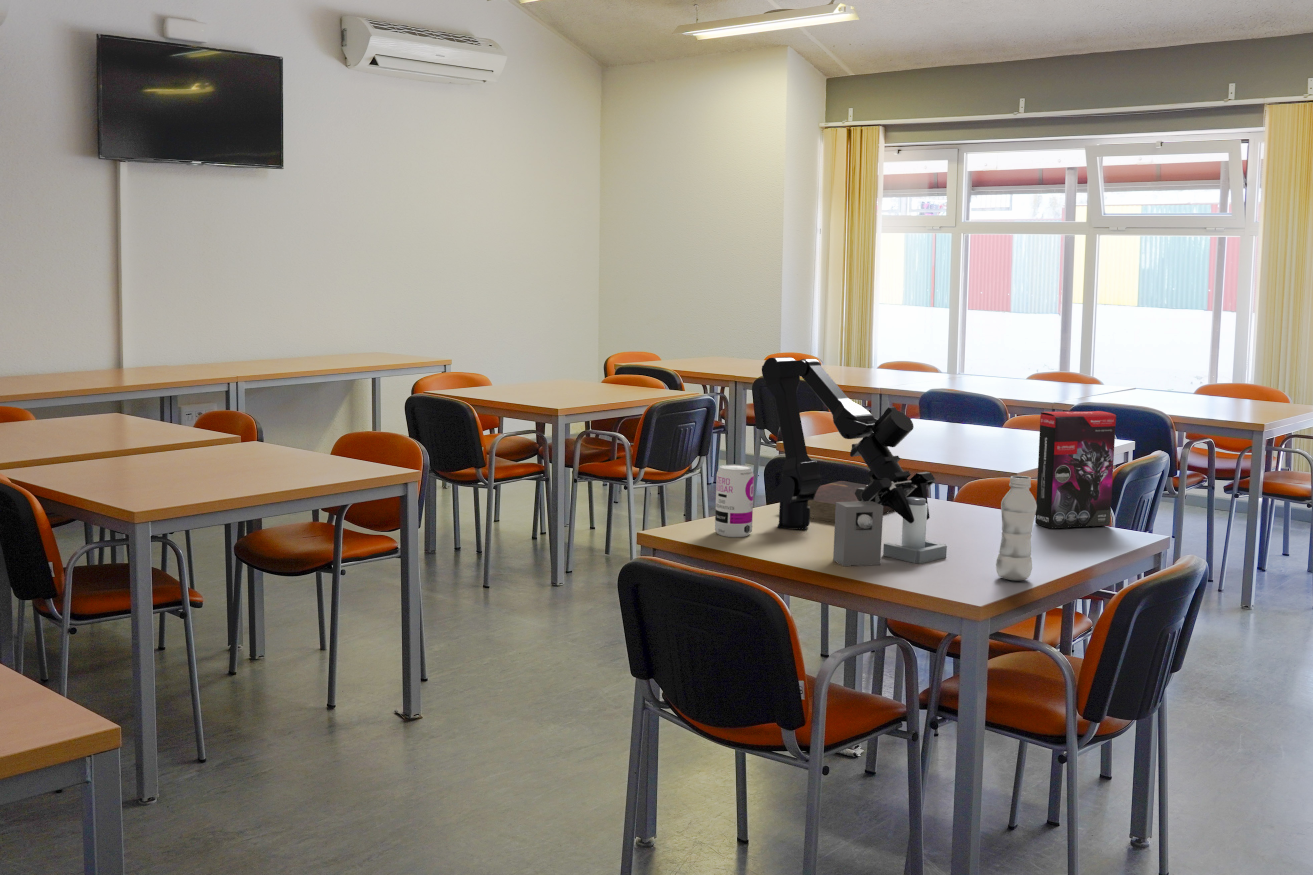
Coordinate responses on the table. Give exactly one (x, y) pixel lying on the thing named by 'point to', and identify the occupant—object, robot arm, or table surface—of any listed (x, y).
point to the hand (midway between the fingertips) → (920, 520)
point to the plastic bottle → (1016, 530)
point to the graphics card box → (1075, 469)
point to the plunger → (863, 520)
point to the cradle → (916, 552)
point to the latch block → (857, 534)
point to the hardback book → (834, 499)
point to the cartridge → (915, 524)
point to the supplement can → (734, 500)
